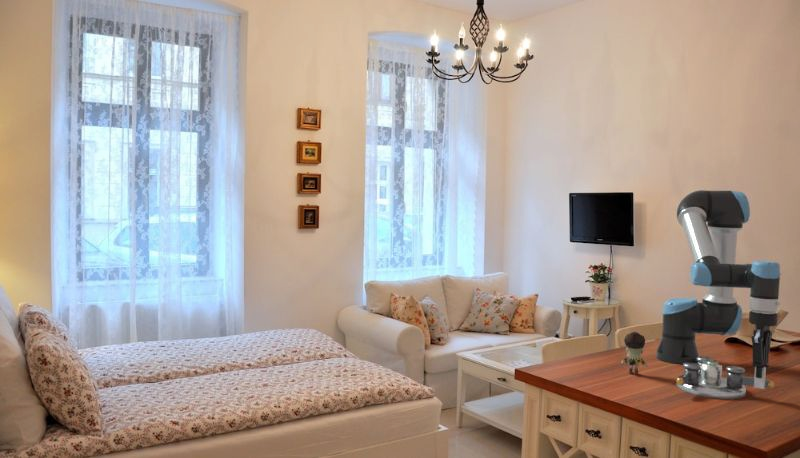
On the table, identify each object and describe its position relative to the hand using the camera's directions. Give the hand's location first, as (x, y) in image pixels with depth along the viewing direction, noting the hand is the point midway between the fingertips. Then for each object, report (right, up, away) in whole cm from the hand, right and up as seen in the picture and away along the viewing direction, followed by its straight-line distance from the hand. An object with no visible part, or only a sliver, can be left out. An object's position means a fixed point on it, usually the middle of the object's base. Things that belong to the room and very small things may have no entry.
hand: (759, 387), depth 193 cm
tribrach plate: (-10, -3, +10) cm, 14 cm away
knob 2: (-6, 0, +20) cm, 21 cm away
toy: (-29, -2, +26) cm, 39 cm away
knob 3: (-2, -1, +3) cm, 3 cm away
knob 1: (-20, -1, +5) cm, 21 cm away
